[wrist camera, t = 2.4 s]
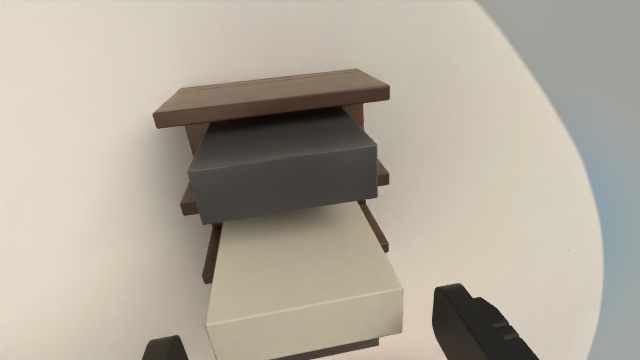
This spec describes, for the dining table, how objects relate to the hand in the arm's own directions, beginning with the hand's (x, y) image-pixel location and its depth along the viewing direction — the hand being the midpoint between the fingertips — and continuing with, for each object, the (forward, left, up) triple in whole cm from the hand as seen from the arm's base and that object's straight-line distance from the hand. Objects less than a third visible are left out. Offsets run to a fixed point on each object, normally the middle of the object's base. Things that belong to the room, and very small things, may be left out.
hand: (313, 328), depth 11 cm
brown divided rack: (0, 0, -10) cm, 10 cm away
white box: (0, 0, -9) cm, 9 cm away
